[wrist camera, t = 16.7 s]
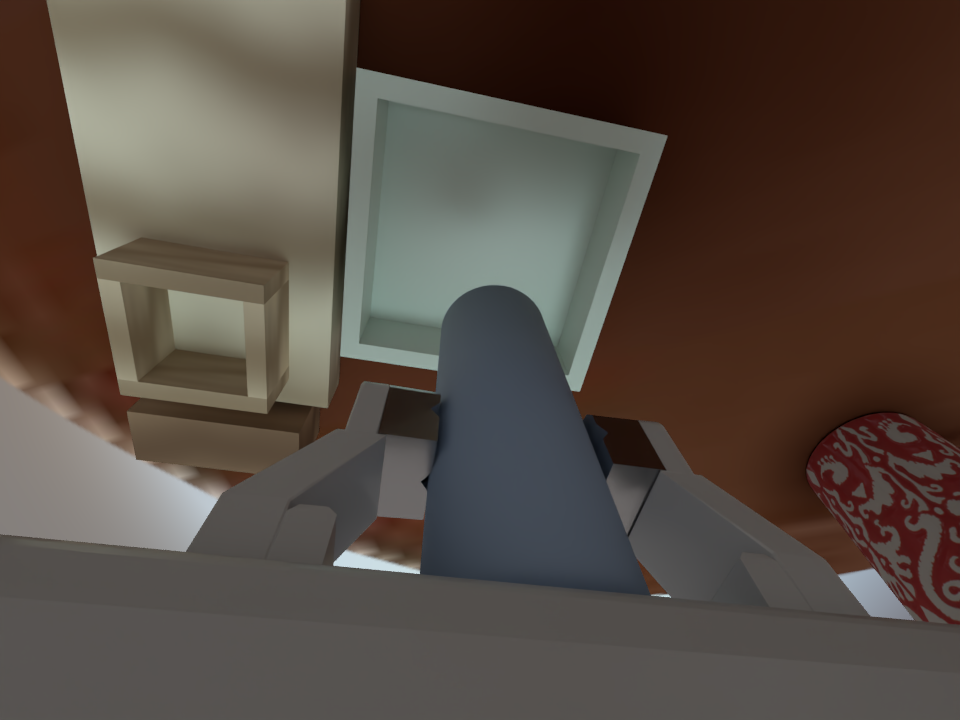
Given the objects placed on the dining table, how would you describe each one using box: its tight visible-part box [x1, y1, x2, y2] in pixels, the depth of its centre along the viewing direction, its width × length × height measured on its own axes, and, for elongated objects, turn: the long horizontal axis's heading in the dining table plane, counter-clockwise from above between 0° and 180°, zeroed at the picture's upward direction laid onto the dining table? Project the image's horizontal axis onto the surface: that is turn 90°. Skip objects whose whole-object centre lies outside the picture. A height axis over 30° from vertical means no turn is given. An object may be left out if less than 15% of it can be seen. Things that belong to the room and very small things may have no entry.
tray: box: [340, 67, 667, 392], centre depth 21 cm, size 12×12×4 cm
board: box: [47, 0, 360, 414], centre depth 20 cm, size 18×10×6 cm, turn 169°
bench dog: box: [127, 398, 320, 474], centre depth 25 cm, size 3×8×4 cm, turn 79°
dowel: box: [420, 285, 651, 596], centre depth 10 cm, size 3×3×9 cm
